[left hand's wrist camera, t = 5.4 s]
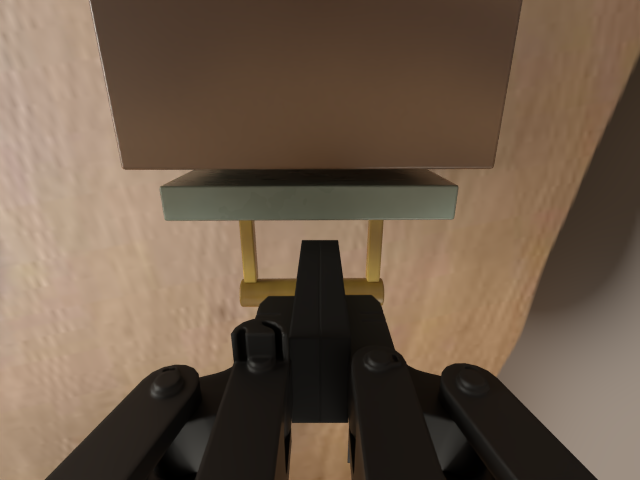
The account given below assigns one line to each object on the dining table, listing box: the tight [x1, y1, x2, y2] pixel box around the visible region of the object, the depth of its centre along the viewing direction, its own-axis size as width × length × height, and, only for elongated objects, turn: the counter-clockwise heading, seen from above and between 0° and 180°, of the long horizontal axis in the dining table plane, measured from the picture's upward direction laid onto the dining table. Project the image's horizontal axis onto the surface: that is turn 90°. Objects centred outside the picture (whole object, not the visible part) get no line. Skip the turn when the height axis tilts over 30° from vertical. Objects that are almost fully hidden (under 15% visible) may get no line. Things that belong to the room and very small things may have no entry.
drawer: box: [160, 169, 458, 307], centre depth 13 cm, size 24×10×8 cm, turn 0°
